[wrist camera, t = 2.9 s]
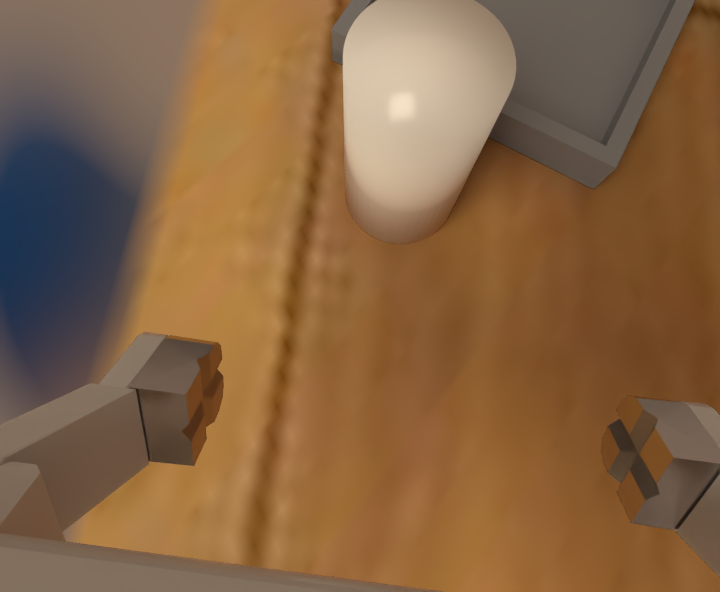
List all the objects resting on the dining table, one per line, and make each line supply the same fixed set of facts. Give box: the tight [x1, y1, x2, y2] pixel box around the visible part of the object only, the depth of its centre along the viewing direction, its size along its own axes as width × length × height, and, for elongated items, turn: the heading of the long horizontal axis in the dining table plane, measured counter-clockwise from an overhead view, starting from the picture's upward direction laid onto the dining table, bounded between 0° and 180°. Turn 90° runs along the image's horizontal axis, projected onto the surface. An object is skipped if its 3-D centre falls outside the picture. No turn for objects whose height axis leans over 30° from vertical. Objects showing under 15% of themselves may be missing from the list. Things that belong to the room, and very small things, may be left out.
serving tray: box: [331, 0, 695, 189], centre depth 30 cm, size 18×16×2 cm
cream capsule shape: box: [343, 0, 516, 244], centre depth 23 cm, size 6×6×11 cm
